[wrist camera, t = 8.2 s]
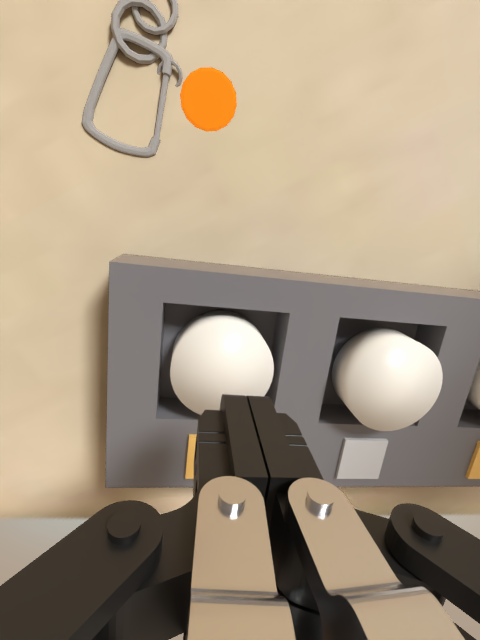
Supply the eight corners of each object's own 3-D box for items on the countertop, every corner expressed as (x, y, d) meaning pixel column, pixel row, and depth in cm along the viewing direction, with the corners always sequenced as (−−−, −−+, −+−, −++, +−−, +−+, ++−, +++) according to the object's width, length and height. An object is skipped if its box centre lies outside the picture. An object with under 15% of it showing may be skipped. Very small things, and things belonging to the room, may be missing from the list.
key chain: (215, 192, 17) (216, 191, 16) (58, 126, 15) (51, 121, 14) (323, -117, 14) (331, -138, 13) (146, -241, 12) (143, -273, 11)
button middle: (324, 407, 18) (339, 430, 16) (341, 323, 17) (360, 337, 15) (403, 410, 19) (427, 432, 17) (425, 330, 18) (454, 344, 16)
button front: (169, 394, 17) (166, 416, 15) (175, 306, 16) (173, 318, 14) (258, 398, 18) (266, 419, 16) (270, 314, 17) (280, 326, 15)
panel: (117, 448, 20) (104, 490, 17) (123, 254, 17) (108, 262, 14) (507, 454, 24) (553, 488, 21) (567, 300, 21) (631, 314, 18)
